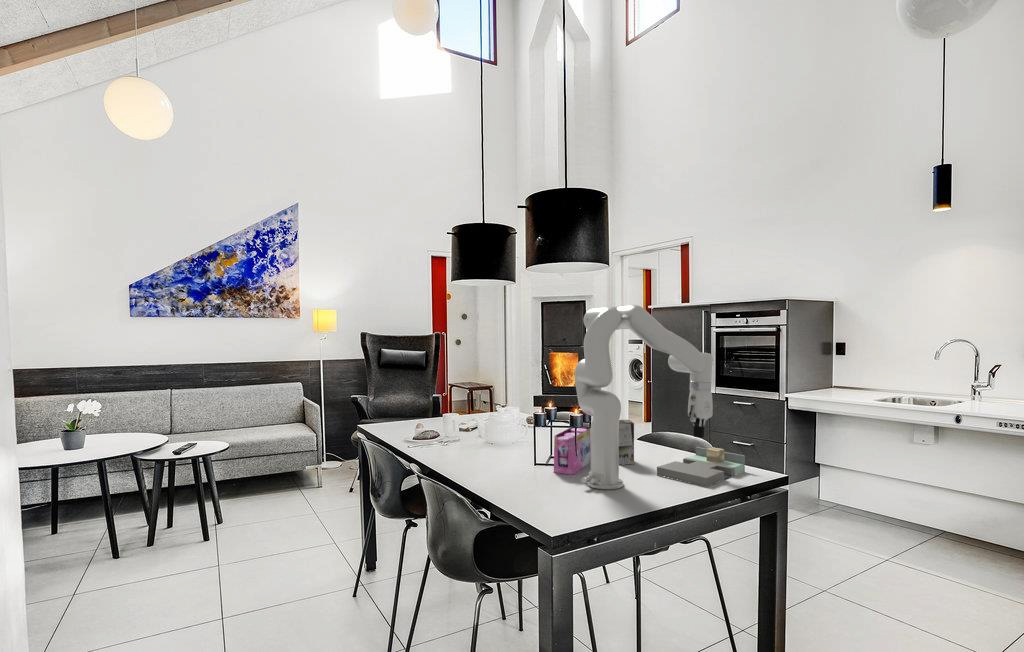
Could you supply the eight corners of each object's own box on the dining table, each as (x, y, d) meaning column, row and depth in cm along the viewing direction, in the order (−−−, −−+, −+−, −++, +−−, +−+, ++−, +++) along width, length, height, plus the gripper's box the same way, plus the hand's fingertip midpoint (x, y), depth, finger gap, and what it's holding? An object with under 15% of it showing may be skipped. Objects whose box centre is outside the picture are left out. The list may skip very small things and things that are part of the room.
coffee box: (634, 465, 206) (634, 423, 206) (618, 464, 206) (617, 423, 206) (630, 459, 215) (629, 419, 215) (614, 459, 215) (613, 419, 215)
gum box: (572, 476, 191) (572, 438, 191) (551, 473, 194) (551, 436, 194) (591, 461, 212) (591, 427, 212) (572, 459, 216) (572, 425, 216)
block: (717, 463, 196) (717, 451, 196) (706, 460, 200) (706, 448, 200) (724, 461, 199) (724, 449, 199) (713, 459, 203) (713, 447, 203)
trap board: (706, 486, 177) (706, 468, 177) (656, 475, 191) (656, 458, 191) (744, 471, 196) (744, 455, 196) (696, 462, 210) (696, 446, 210)
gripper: (699, 388, 186) (697, 440, 185) (720, 387, 196) (718, 436, 195) (680, 386, 191) (678, 437, 191) (701, 385, 201) (699, 433, 201)
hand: (698, 436), depth 193 cm, fingers closed
